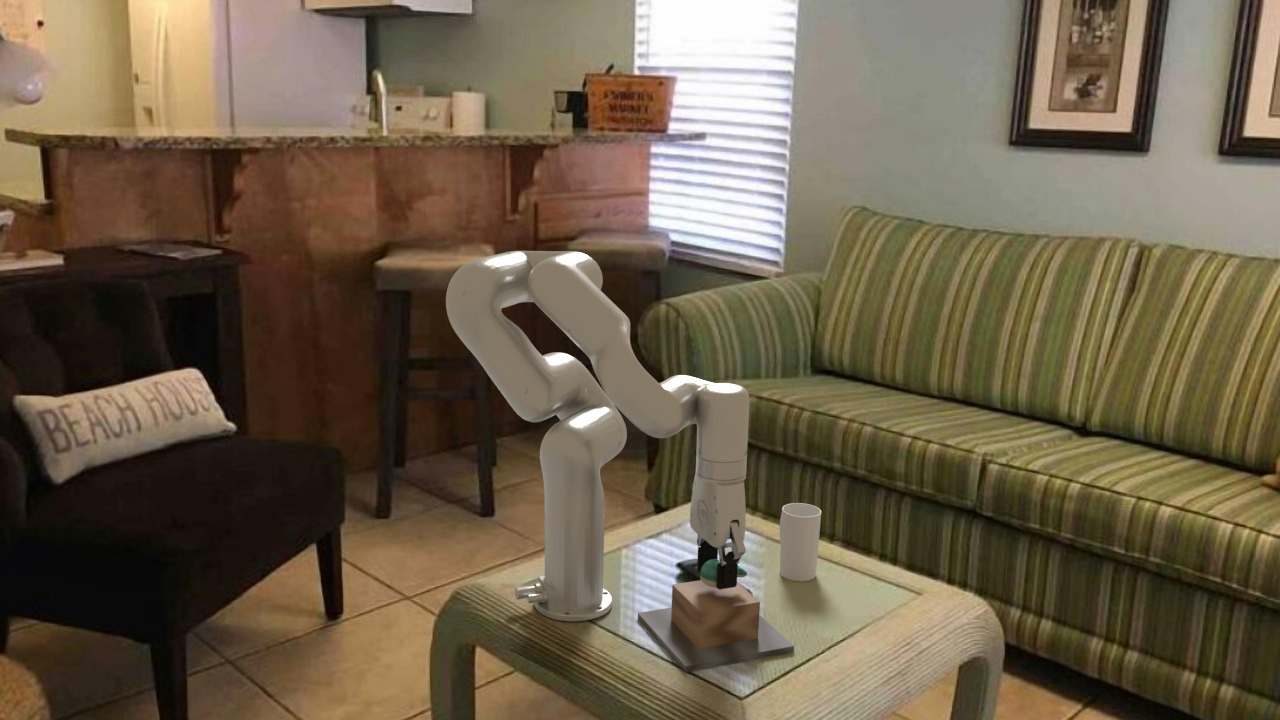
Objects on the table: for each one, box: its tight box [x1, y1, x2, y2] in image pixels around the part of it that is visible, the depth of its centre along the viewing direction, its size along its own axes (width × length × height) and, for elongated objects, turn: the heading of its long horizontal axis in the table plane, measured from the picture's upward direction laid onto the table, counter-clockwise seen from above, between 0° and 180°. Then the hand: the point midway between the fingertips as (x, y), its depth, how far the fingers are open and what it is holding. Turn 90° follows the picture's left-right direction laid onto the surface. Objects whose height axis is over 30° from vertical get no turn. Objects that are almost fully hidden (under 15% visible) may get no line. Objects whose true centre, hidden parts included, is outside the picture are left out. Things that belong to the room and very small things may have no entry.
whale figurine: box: [699, 559, 748, 588], centre depth 170 cm, size 6×7×4 cm
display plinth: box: [637, 579, 795, 673], centre depth 171 cm, size 18×18×7 cm
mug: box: [779, 502, 822, 582], centre depth 195 cm, size 10×7×12 cm, turn 22°
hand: (716, 577), depth 170 cm, fingers closed on whale figurine, 5 cm apart
